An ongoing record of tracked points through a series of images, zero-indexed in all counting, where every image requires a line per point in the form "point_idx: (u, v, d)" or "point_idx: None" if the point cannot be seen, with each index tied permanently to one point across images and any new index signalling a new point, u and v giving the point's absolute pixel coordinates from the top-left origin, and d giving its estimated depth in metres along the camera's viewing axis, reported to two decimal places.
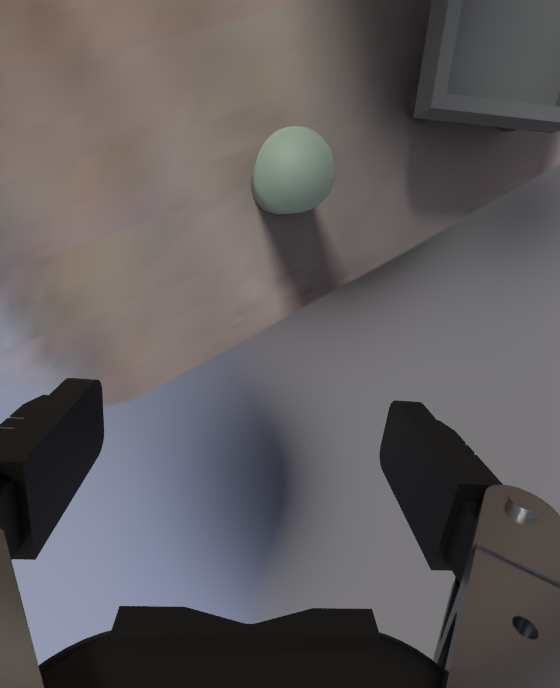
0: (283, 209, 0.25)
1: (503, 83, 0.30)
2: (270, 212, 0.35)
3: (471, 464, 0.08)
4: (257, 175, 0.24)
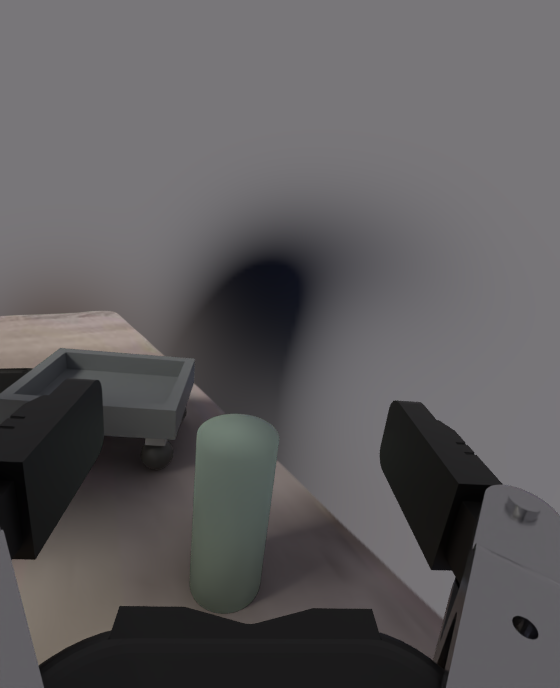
0: (277, 442, 0.23)
1: (160, 395, 0.40)
2: (261, 571, 0.27)
3: (471, 464, 0.08)
4: (245, 459, 0.22)
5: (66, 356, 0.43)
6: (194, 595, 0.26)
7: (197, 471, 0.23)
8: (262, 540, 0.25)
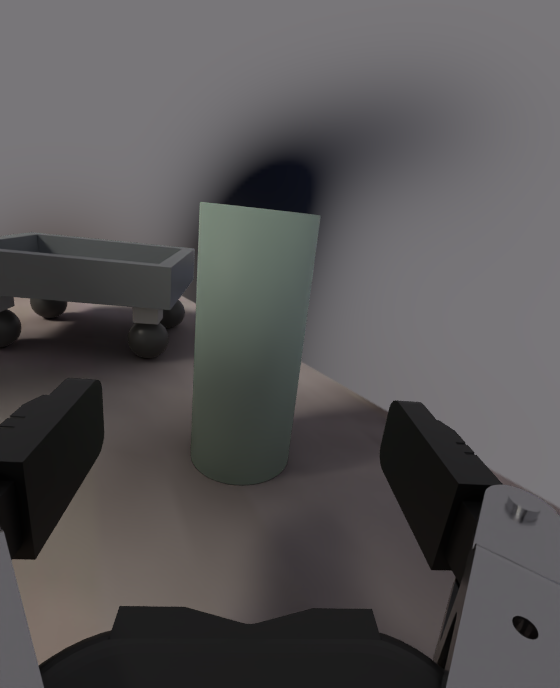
0: (318, 215, 0.16)
1: None
2: (290, 434, 0.19)
3: (471, 464, 0.08)
4: (275, 211, 0.14)
5: (38, 241, 0.36)
6: (197, 464, 0.18)
7: (201, 255, 0.16)
8: (294, 376, 0.18)
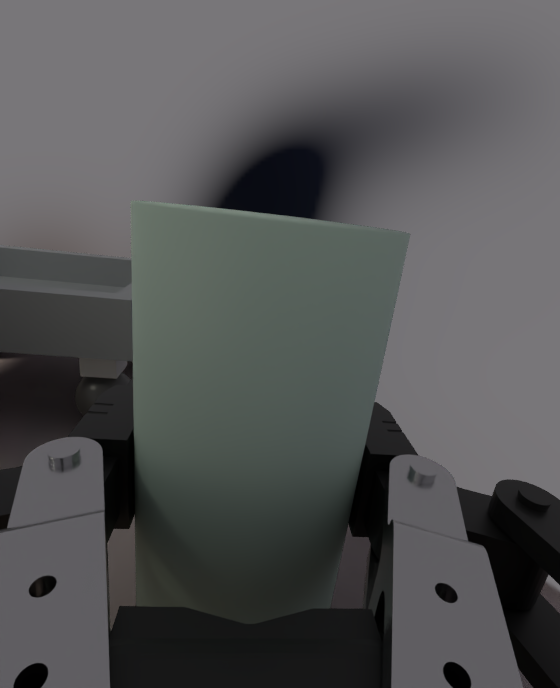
0: None
1: None
2: None
3: (389, 438, 0.09)
4: (317, 226, 0.05)
5: None
6: None
7: (134, 324, 0.07)
8: (338, 558, 0.09)
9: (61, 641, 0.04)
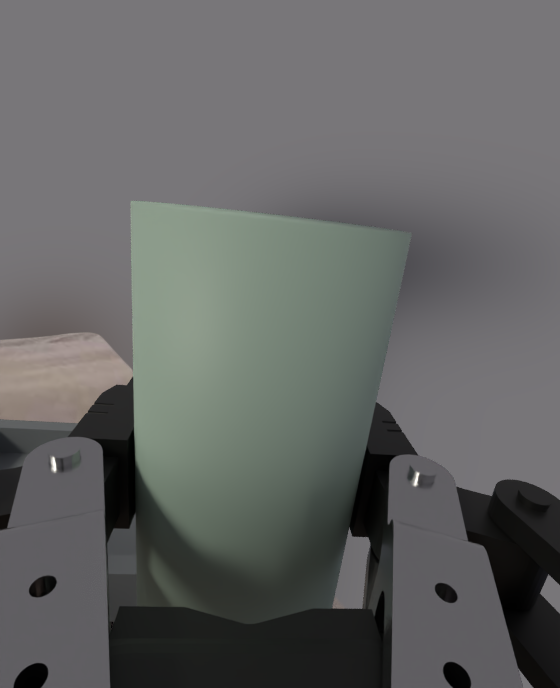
0: None
1: None
2: None
3: (389, 438, 0.09)
4: (318, 226, 0.05)
5: None
6: None
7: (134, 325, 0.07)
8: (340, 560, 0.09)
9: (61, 641, 0.04)
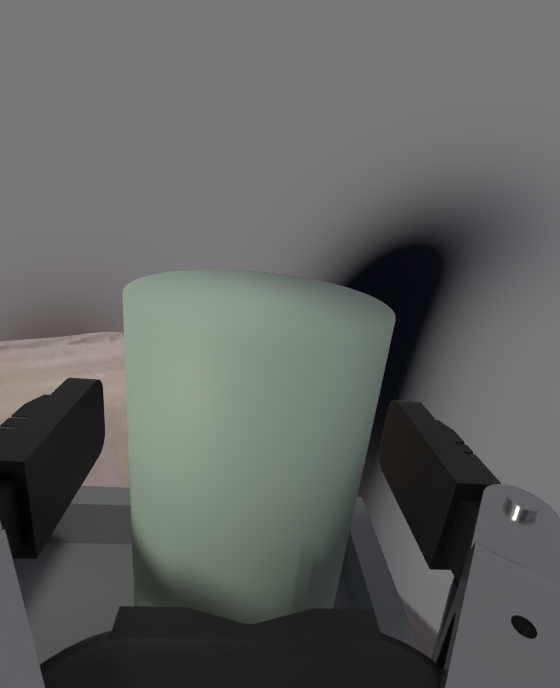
0: (390, 312, 0.07)
1: None
2: None
3: (470, 464, 0.08)
4: (300, 340, 0.05)
5: None
6: None
7: (128, 408, 0.07)
8: None
9: None
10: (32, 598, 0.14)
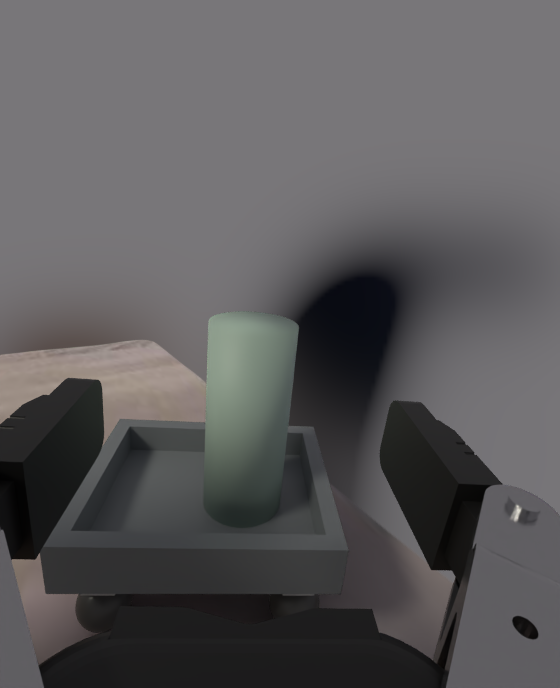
0: (296, 328, 0.21)
1: (282, 495, 0.26)
2: (281, 485, 0.25)
3: (471, 464, 0.08)
4: (263, 337, 0.19)
5: (130, 432, 0.29)
6: (209, 511, 0.24)
7: (210, 361, 0.21)
8: (282, 444, 0.23)
9: None
10: (145, 469, 0.27)
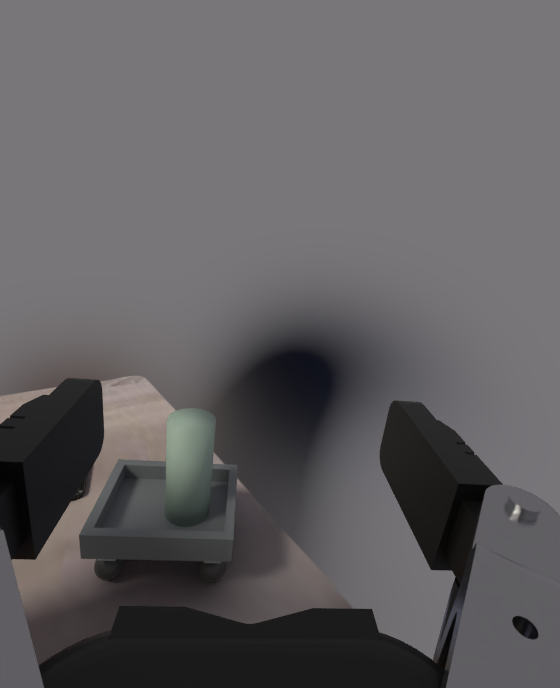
0: (213, 424, 0.41)
1: (211, 508, 0.46)
2: (208, 503, 0.44)
3: (471, 464, 0.08)
4: (193, 432, 0.39)
5: (124, 468, 0.49)
6: (167, 517, 0.43)
7: (167, 440, 0.41)
8: (207, 482, 0.42)
9: None
10: (133, 491, 0.47)
